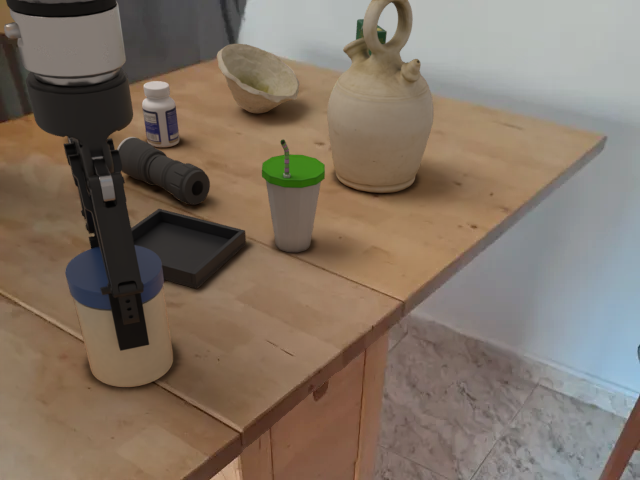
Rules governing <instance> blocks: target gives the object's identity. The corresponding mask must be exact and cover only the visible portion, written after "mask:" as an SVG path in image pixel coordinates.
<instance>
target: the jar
mask: <svg viewBox="0 0 640 480" xmlns="http://www.w3.org/2000/svg"><path fill="white" fill-rule="evenodd" d="M72 299H73V304H74V308H75V311H76V316H77V320H78V324H79V329H80V332H81V336H82V340H83V344H84V345H83V346H84V349H85V352H86V356H87V361H88V365H89V369H90V372H91V374H92V375H93V376H94V377H95V379H97V380H98V381H100V382H101V383H103V384H106V385H108V386H113V387H117V388H133V387H135V388H136V387H139V386H144V385H147V384H150V383H153V382H155V381H158V379H161V378H162V377H163V376H165V374H166V373H168V372H169V370H170V369H171V367H172V365H173V363H174V351H173V346H172V338H171V330H170V325H169V324H170V323H169V318H168V317H169V316H168V310H167V303H166V294H165V288H164V286H163V287H162V289H161V290H160V292H159V293H158V294H157V295H155V296H154V297H153V298H151V299H150V300H148V301H146V302H144V303H142V304H143V310H144V316H145V322H146V328H147V334H148V340H149V345H146V346H141V347H136V348H132V349H127V350H122V351H120V348H119V345H118V340H117V335H116V330H115V325H114V321H113V316H112V311H111V309H98V308H93V307H89V306H86V305H83V304H81V303H79V302H78V301H76V300H75V299H74V298H73V297H72Z"/></svg>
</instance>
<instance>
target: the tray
mask: <svg viewBox="0 0 640 480" xmlns="http://www.w3.org/2000/svg"><path fill="white" fill-rule="evenodd" d="M131 230H132V235H133V240H134V245H136V246H141V247H144V248H147V249H149V250H151V251H153V252H154V253H156V254H157V255H158V256H159V258H160V259H161V262H162V269H163V276H164V281H168V282H171V283H175V284H179V285H182V286H185V287H190V288H193V289H196V290H197V289H198V288H199V287H201V286H202V285H203V284H204V283H205V282H206V281H207V280H208V279H209V278H211V277H212V276H213V275H214V274H215V273H216V272H217V271H218V270H219V269H221V268H222V267H223V266H224V265H225V264H226V263H227V262H228V261H229V260H231V259H232V257H234V256H235V255H236V254H237V253H238V252H239V251H240V250H241V249H243V248H244V247H245V246H246V245H247V238H246V236H247V235H246V230H245V229H241V228H237V227H233V226H231V225H225V224H221V223H217V222H214V221H210V220H207V219H202V218H198V217H194V216H191V215H186V214H182V213H178V212H175V211H170V210H167V209H162V208H157V209H156V210H155V211H153V212H152V213H150V214H149V215H147V216H146V217H145V218H143V219H142V220H140V221H139V222H137V223H136V224H135V225H133V226H131Z"/></svg>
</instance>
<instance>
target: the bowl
mask: <svg viewBox="0 0 640 480" xmlns="http://www.w3.org/2000/svg"><path fill="white" fill-rule="evenodd" d="M216 60H217V65H218V69H219V70H220V71H221V72H220V73H221V74H222V75H223V76H224V78H225V81H226V84H227V87H228V89H229V90H230V92H231V95H232V98H233V100H234V101H235V102H236V104H237V105H238V106H239V107H240V108H241V109H243V110H244V111H247V112H249V113H253V114H265V113H267V112H270V111H272V109H275V108H276V107H278V106H280V105H281V104H283V103H286V102H290V101H295V100H297V98H298V94H299V91H300V90H299V88H300V87H299V86H300V81H299V79H298V77H297V75H296V73H295V71H294V70H293V68H291V67H290V66H289V65H288V64H287V63H286V62H285V61H284V60H282V58H280V57H279V56H277V55H276V54H274V53H272V52H269V51H266V50H265V49H262V48H259V47H256V46H253V45H250V44H246V43H231V44H227V45H226V46H224V47H222V48H221V49H219V50H218V51H217V54H216Z"/></svg>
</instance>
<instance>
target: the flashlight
mask: <svg viewBox="0 0 640 480" xmlns="http://www.w3.org/2000/svg"><path fill="white" fill-rule="evenodd" d="M116 150H118V151H119V154H120V159H121V163H122V170H121V173H122V174H125V175H127V176H129V177H131V178H132V179H135V180H137V181H141V182H144V183H145V184H147V185H151V186H158V187H160V188H162V189H164V190H165V191H166V192H168V193H169V194H171V195H172V196H173V197H174V198H175V199H176V200H178V201H180V202H182V203H184V204H187V205H190V206H191V205H199V204H201V203H202V202H204V201H205V199H207V197H208V194H209V192H210V189H211V181H210V178H209V175H208V174H207V173H206V172H205V171H204V169H202V168H200V167H199V166H196V165H194V164H192V163H189V162H187V163H184V162H182V161H180V160H176V159H173V158H171V157H169V156H168V155H167V154H166V153H165V152H164V151H162V150H160V149H158V148H157V147H154V146H152V145H151V144H149V143H148V141H144V140H142V139H141V138H138V137H136V136H128V137H126V138H124V139H123V140H121V142H120V143H119V145H118V146H117V148H116Z"/></svg>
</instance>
